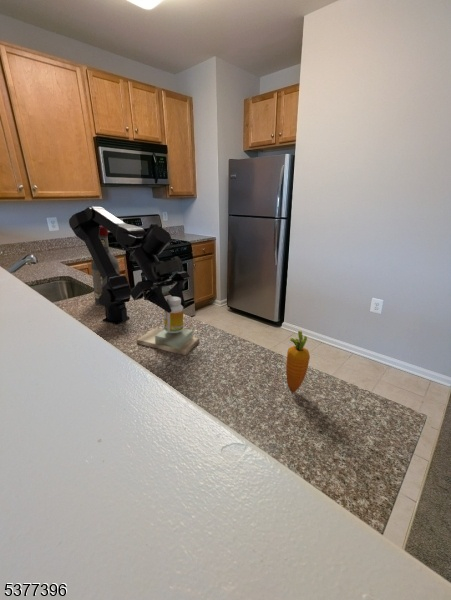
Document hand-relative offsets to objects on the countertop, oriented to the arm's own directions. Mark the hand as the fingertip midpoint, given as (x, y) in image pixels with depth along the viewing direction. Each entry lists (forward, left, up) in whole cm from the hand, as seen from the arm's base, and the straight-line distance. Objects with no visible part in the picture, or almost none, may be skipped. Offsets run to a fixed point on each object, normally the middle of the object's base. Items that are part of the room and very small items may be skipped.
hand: (177, 309), depth 78 cm
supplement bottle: (-1, 0, -7) cm, 7 cm away
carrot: (+35, -8, -12) cm, 38 cm away
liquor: (-43, +20, -12) cm, 49 cm away
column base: (-3, 0, -11) cm, 12 cm away
